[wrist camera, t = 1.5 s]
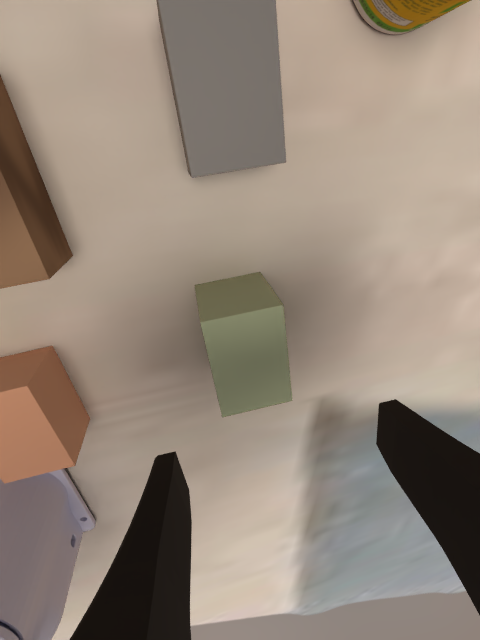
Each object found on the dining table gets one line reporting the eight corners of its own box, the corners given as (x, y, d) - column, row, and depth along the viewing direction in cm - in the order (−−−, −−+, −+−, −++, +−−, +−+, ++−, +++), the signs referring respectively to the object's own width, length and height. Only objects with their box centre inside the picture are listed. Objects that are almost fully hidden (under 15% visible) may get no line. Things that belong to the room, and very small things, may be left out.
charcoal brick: (263, 160, 17) (286, 162, 14) (188, 172, 17) (191, 177, 14) (249, 11, 15) (273, -35, 11) (159, 22, 14) (153, -21, 11)
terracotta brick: (90, 417, 23) (74, 465, 19) (31, 431, 22) (4, 483, 19) (53, 344, 20) (27, 385, 16) (-16, 359, 20) (-58, 405, 16)
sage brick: (269, 353, 23) (292, 400, 18) (213, 365, 23) (222, 417, 18) (259, 271, 20) (283, 305, 16) (194, 284, 20) (200, 322, 15)
